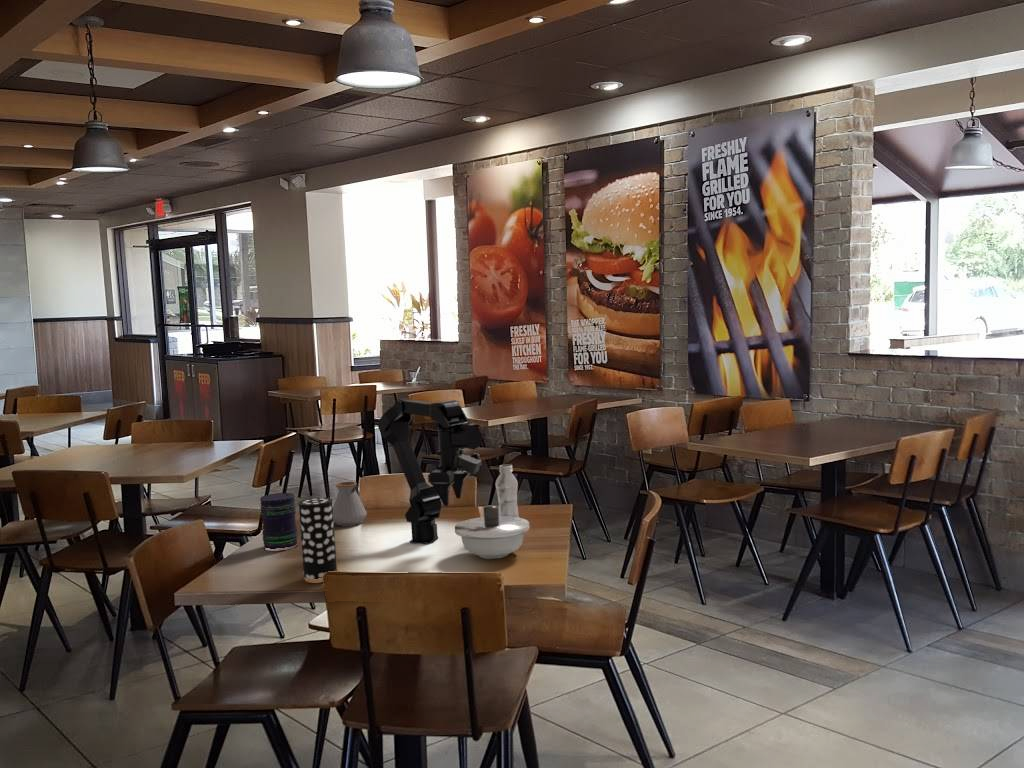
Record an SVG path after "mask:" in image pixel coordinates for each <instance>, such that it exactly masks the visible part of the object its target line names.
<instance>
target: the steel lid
mask: <svg viewBox="0 0 1024 768" xmlns="http://www.w3.org/2000/svg"><path fill="white" fill-rule="evenodd" d="M529 530H530V522H529V521H528V520H527V519H525V518H522V517H520V516H519V517H511V516H499V504H498V505H497V504H489V505H484V506H483V516H480V517H474V518H469V519H466V520H465V519H464V520H463V521H460V522H458V523H457V524H455V525H454V533H455V534H456V535H457V536H458V537H459V536H460V537H461V538H462V537H465V538H471V539H499V538H506V537H512V536H516V535H519V534H522V533H527V532H528V531H529Z"/></svg>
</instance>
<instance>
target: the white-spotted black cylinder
mask: <svg viewBox="0 0 1024 768" xmlns="http://www.w3.org/2000/svg"><path fill="white" fill-rule="evenodd" d="M297 504H298V514H299V515H298V517H299V528H300V529H299V530H300V541H301V542H300V543H301V555H302V556H301V558H302V569H303V570H302V571H303V578H304V577H305V578H310V579H318V578H322V575H323V574H324V573H325V572H328V571H337V572H338V566H337V565H338V564H337V552H336V551H337V549H336V540H335V539H336V536H335V535H336V534H335V523H334V521H333V506H334V505H333V499H332V498H330V497H314V498H307V499H306V498H305V499H303V500H300V501H298V503H297Z"/></svg>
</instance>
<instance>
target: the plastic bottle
mask: <svg viewBox="0 0 1024 768" xmlns="http://www.w3.org/2000/svg"><path fill="white" fill-rule="evenodd" d="M498 471H499V473H500V474H499V475H498V476H497V478H496V480H495V491H496V494H497V501H498V507H499V516H511V517H519V518H520V516H519V509H518V488H519V485H518V484H519V483H518V482H519V481H518V480H517V478H516V477H515V475H514V474H513V473H512V472H514V469H513V464H511V463H509V464H501V465H499V470H498Z"/></svg>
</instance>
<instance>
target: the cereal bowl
mask: <svg viewBox="0 0 1024 768" xmlns="http://www.w3.org/2000/svg"><path fill="white" fill-rule="evenodd" d="M523 541H524V533H522V534H519V535H516V536H512V537H506V538H499V539H471V538H465V537H461V542H462V544H463V547H464V548H465V549H466V551H468V552H470V553H472V554H474V555H477V556H478V557H479V558H481V559H484V560H495V559H496V558H497V559H501V558H505V557H507V556H508V555H509V554H511V553H513V552H516V551H518V549H519V548H520V547H521V545H522V544H523Z"/></svg>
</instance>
